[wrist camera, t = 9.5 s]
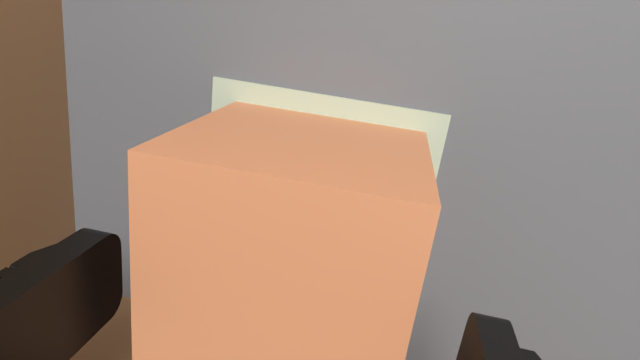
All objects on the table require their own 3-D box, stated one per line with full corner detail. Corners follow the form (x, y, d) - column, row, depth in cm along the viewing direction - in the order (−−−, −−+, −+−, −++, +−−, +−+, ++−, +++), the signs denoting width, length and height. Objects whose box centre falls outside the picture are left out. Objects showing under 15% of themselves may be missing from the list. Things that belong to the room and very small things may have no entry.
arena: (822, -89, 11) (1650, -315, 4) (591, 421, 17) (737, 729, 10) (27, -169, 14) (-412, -395, 6) (62, 297, 20) (-146, 463, 12)
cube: (426, 132, 14) (441, 207, 8) (390, 299, 16) (382, 453, 10) (235, 101, 14) (127, 149, 9) (225, 265, 16) (133, 389, 11)
